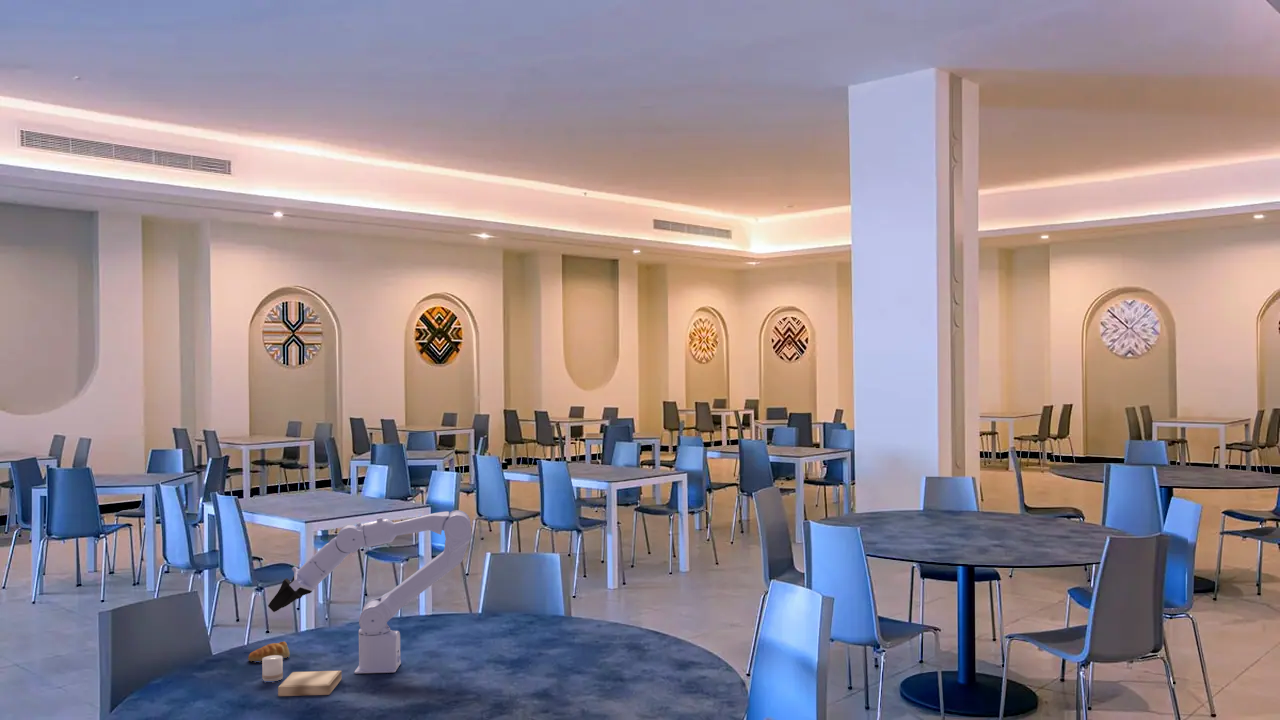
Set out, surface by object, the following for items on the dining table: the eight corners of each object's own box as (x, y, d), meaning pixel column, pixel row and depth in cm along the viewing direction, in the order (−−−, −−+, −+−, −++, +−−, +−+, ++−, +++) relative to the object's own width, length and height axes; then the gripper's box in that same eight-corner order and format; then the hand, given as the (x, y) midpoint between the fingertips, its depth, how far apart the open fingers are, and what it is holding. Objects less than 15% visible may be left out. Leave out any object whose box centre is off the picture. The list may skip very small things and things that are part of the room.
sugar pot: (285, 676, 235) (285, 654, 235) (279, 682, 231) (279, 660, 231) (265, 677, 235) (265, 655, 235) (259, 683, 230) (259, 661, 231)
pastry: (253, 666, 244) (253, 650, 244) (244, 660, 250) (243, 645, 250) (291, 658, 250) (291, 643, 250) (282, 653, 256) (281, 638, 256)
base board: (341, 679, 232) (341, 670, 232) (329, 694, 221) (329, 685, 221) (292, 680, 232) (292, 671, 232) (278, 696, 221) (278, 686, 221)
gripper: (315, 550, 245) (272, 590, 243) (301, 555, 231) (255, 598, 229) (335, 572, 245) (292, 612, 243) (322, 578, 231) (276, 620, 229)
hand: (275, 606), depth 236 cm, fingers open, 7 cm apart
